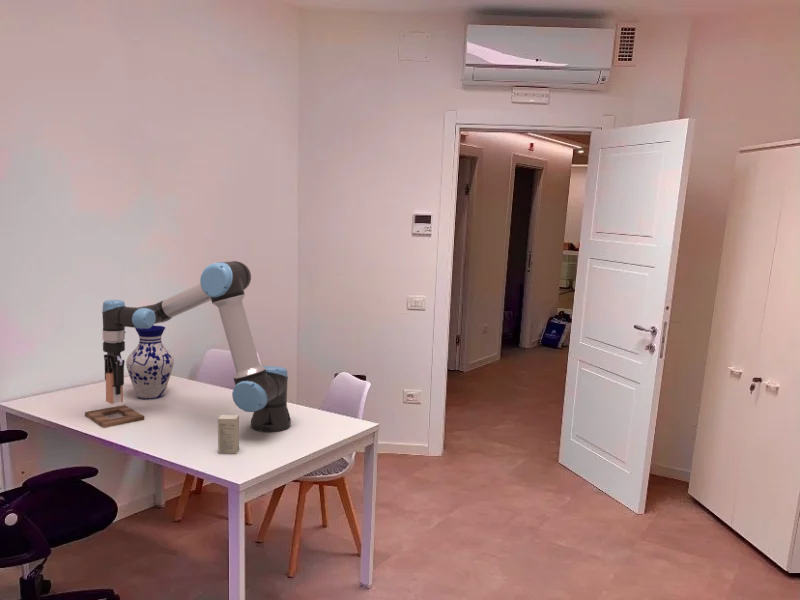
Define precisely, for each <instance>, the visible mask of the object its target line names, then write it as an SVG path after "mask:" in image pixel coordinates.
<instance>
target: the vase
mask: <svg viewBox="0 0 800 600" xmlns="http://www.w3.org/2000/svg"><path fill="white" fill-rule="evenodd" d="M134 330H135V331H136V333H137V335H138V337H139V341H138V344H137V346H136V347H135V348H134V349H133V350H132V352H131V353H130V354H129V355H128V356H127V358H126V368H127V374H128V376H129V379H130V381H131V384H132V387H133V390H134V393H135V395H136V398H138V399H140V400H155V399H160V398H162V397H164V396H165V393H166V390H167V387H168V383H169V380H170V378H171V375H172V372H173V368H174V365H175V359H174V356H173V354H172V353H171V352H170V351H169V350H168V349H167V348H166V347H165V346H164V344H163V342H162V336H163V334H164V332H165V330H166V326H163V325H155V324H154V325H153V326H152V327H151V328H148V329H145V328H143V329H139V328H134Z"/></svg>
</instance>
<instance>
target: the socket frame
mask: <svg viewBox="0 0 800 600" xmlns="http://www.w3.org/2000/svg"><path fill="white" fill-rule="evenodd" d="M115 414H120V415H121V416H120V417H115V418H110V417H108V415H109V416H110V415H115ZM84 416H85V417H86V418H88V419H89V420H91V421H93V423H96V424H97V425H98V426H100V427H101V428H102V429H105V428H111V427H115V426H120V425H125V424H131V423H135V422H140V421H144V420H145V415H143V414H141V413H139V412H138V411H136V410H135V409H133V408H131V407H129V406H127V405H126V404H123V405H117V406H111V407H106V408H101V409H100V408H99V409H95V410H89V411H85V412H84Z"/></svg>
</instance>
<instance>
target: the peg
mask: <svg viewBox="0 0 800 600" xmlns="http://www.w3.org/2000/svg"><path fill="white" fill-rule="evenodd" d="M112 385H114V379H113V372H111V373H106V380H105V402H107V403H109V404H110V405H112V404H114V403H113V387H112ZM123 390H124V385H122V386H121V402H118V403H123V402H124V399H123V398H124V395H123V394H124V391H123Z"/></svg>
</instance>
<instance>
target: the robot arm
mask: <svg viewBox="0 0 800 600" xmlns="http://www.w3.org/2000/svg"><path fill="white" fill-rule="evenodd" d="M251 280H252V273H251V270H250V268H249V267H248V266H247V265H246V264H245V263H244V262H241V261H236V260H234V261H219V262H215V263H211V264H209V265H208V266H206V267H205V268H204V269H203V270H202V273H201V275H200V280H199V282H200V283H198V284H196V285H194V286H191V287H190V288H188V289H186V290H183V291H181V292H178V293H177V294H175V295H172V296H170V297H168V298H166V299H163V300H160V301H159V302H156V303H154V304H151V305H150V304H149V305H145V306H144V305H143V306H140V307H134V306H126V305H125V303H126V302H125V301H124V300H122V299H106V300H105V301H103V303H102V311H101V313H102V340H103V343H102V352H104V353H106V354H103V361H104V380H105V381H106V373H111V372H113V379H114V385H112V387H113V404H117V403H118V402H119V403H122V402H121V386H122V385H123V386H124V385H125V359H122V355H121V353H122V352H124V351H125V350H126V342H125V339H126V337H125V334H127V332H126V331H125V330H126V329H125V328H134V329H135V328H139V329H143V328H145V329H148V328H151V327H152V326H153V325H154V326H155V325H156V324H161V323H165V322H169V321H170V320H171V319H172V318H174V317H176V316H179V315H180V314H181V315H182V314H184V313H185V312H187V311H190V310H192V309H194V308H197V307H199V306H201V305H203V304H206V303H208V302H210V301H211V303H212V305H214V306H215V307H216V308H217V309H218V312H219V316H220V319H221V323H222V326H223V330H224V333H225V337H226V341H227V343H228V344H227V345H228V347H229V351H230V354H231V359H232V362H233V365H234V368H235V373H234V376H233V377H232V378H233V381H234V387H233V390H232V392H231V393H232V394H231V395H232V396H231V397H232V400H233V402H234V404H235V406H236V407H238V409H240V410H242V411H243V412H245V413H252V416H251V418H250V427H251V429H253V430H255V431H258V432H266V433H267V432H269V433H271V432H280V431H285V430H287V429H289V428H290V427H291V425H292V420H291V419H292V418H291V416H290V415H291V414H290V411H289V409H288V402H287V401H288V381H289V380H288V378H289V377H288V369H287V368H286V367H284V366H283V367H282V366H277V365H275V366H274V365H261V364H260V361H259V357H258V353H257V349H256V346H255V343H254V338H253V335H252V332H251V329H250V324H249V321H248V317H247V314H246V310H245V307H244V304H243V299H245V296H246V295H245V290H246V289H248V287H249V286H250V284H251Z"/></svg>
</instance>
